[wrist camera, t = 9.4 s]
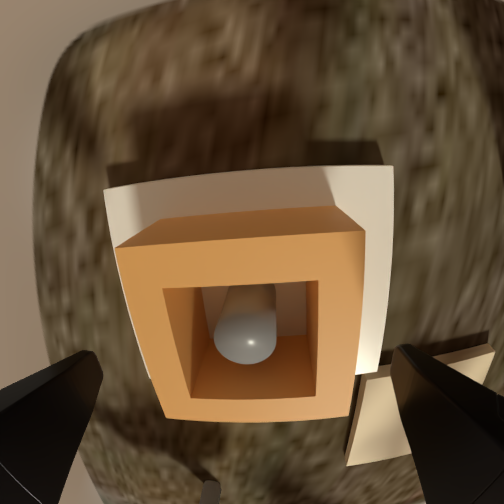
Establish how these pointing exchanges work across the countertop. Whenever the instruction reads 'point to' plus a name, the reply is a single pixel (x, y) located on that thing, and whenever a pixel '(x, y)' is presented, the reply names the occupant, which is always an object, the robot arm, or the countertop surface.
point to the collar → (245, 273)
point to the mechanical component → (210, 493)
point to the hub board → (277, 194)
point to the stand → (386, 410)
